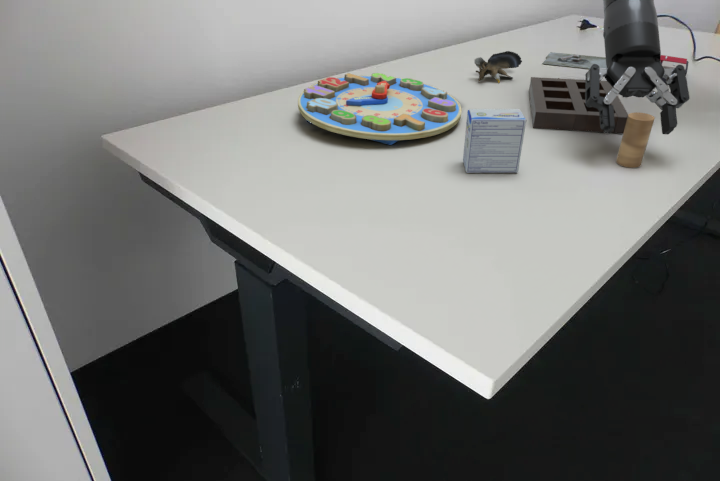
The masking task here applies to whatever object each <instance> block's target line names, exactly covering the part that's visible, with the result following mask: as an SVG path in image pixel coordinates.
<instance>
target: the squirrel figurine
mask: <svg viewBox="0 0 720 481" xmlns="http://www.w3.org/2000/svg"><path fill="white" fill-rule="evenodd" d="M473 61H474V64H475V66H476V67H477V68H478V69H479V70H475V73H477V74H478V80H477V82H478V83H480V82H481V81H482V80H483V79H484V78H485V77H486V76H487V75H490V76H491V77H492V78H494V79H495V81H497V83H498V84H500V83H501V77H500V75H501V76H505V77H508V78H509V79H514V78H513V76H510V75H508V74H507V72H506V71H505V70H507V69H516V68H519V67H520V66H521V64H522V63H523V60H522V58H521V56H520V55H519V53H516V52H514V51H511V50H506V51H502V52H498V53H493V54H492V55H490V57H489V58H488V59H487V61H486V60H484V58H483V57H481V56H480V57H476V58H474V60H473Z"/></svg>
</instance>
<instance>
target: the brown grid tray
mask: <svg viewBox="0 0 720 481" xmlns="http://www.w3.org/2000/svg"><path fill="white" fill-rule="evenodd" d="M611 88H612V86H611V85H610V84H609V83H608V81H607V80H601V81H600V82H599V96H601V97H604V98H605V96H606V95H607V94H608V92H609V91H610V90H611ZM528 93H529V94H528V96H529V104H530V112H531V122H532V129H544V130H559V131H576V132H588V133H589V132H591V133H593V132H594V133H604V130H602V129H601V127H600V116H599V110H598V109H597V108H595V107H587V106H586V105H585V79H578V78H577V79H576V78H560V77H559V78H557V77H536V76H531V77H530V81H529V86H528ZM611 105H613V108H614V121H615V128H614V130H613V131H612V132H611V133H610V134H620V135H621V134H622V135H623V133H624V129H625V125H626V121H627V117H628V114H629V112H627V109H626V108H625V106H624V104H623V103H622V100H621V98H620V97H619V94H618V95H617V96H616V97H615V99H614V100H613V101H612V103H611Z"/></svg>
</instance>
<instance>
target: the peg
mask: <svg viewBox="0 0 720 481" xmlns="http://www.w3.org/2000/svg"><path fill="white" fill-rule="evenodd" d="M655 119H656V117H655V116H654V115H652V114H650V113H645V112H638V111H637V112H630V113H628V117H627V121H626V125H625V129H624V133H623V134H622V137H621V141H620V143H619V144H620V145H619V148H618V152H617V156H616V159H615V162H616V164H617V165H618V166H621V167H624V168H629V169H637V168H640V167H642V164H643V160H644V158H645V153H646V150H647V148H648V147H647V146H648V143H649V139H650V137H651V133H652V129H653V126H654V123H655Z"/></svg>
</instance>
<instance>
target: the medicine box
mask: <svg viewBox="0 0 720 481" xmlns="http://www.w3.org/2000/svg"><path fill="white" fill-rule="evenodd" d="M526 125H527V119H526V117H525V115H524V114H523V112H522V111H521V109H520V108H468V109H467V113H466V122H465V134H464V145H463V156H462V161H463V166H464V169H465V173H469V174H470V173H475V174H477V173H483V174H484V173H485V174H486V173H519V169H520V163H521V156H522V150H523V144H524V138H525V131H526V130H525V129H526V127H527V126H526Z"/></svg>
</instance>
